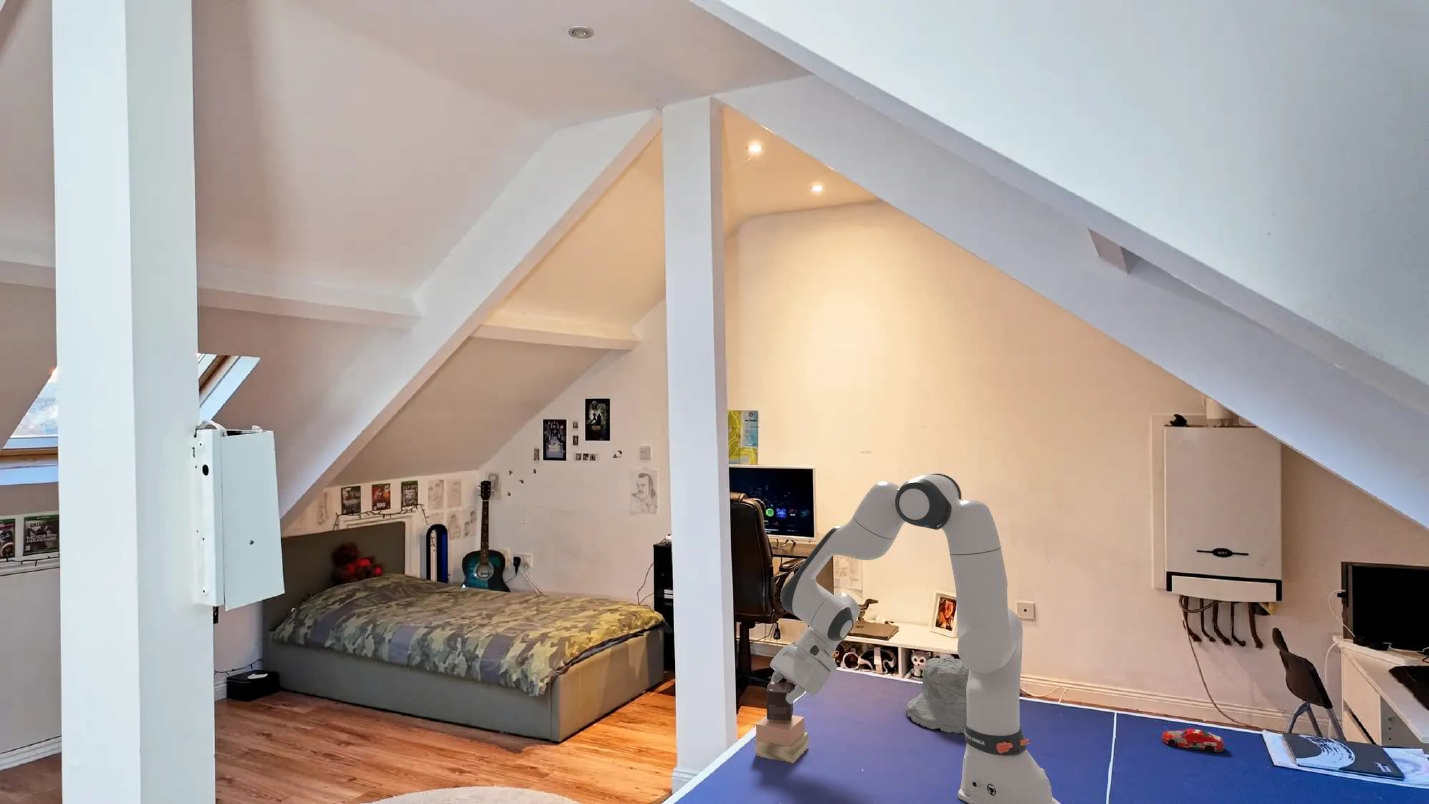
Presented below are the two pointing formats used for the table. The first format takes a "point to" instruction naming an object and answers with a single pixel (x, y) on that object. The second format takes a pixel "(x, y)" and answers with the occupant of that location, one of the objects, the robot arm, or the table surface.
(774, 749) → the tower base
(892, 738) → the table surface
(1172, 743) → the race car
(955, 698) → the hat
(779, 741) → the tower top
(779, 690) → the box
